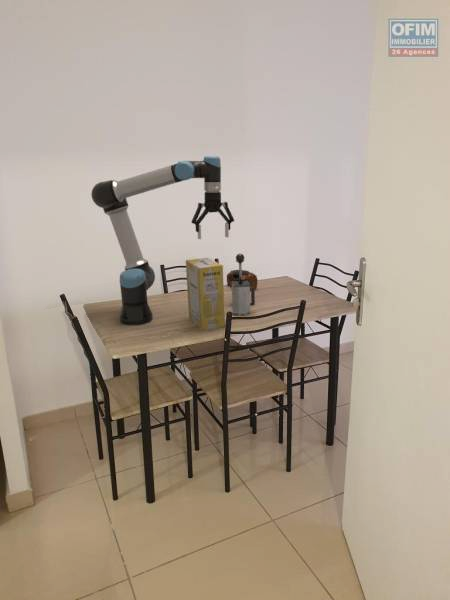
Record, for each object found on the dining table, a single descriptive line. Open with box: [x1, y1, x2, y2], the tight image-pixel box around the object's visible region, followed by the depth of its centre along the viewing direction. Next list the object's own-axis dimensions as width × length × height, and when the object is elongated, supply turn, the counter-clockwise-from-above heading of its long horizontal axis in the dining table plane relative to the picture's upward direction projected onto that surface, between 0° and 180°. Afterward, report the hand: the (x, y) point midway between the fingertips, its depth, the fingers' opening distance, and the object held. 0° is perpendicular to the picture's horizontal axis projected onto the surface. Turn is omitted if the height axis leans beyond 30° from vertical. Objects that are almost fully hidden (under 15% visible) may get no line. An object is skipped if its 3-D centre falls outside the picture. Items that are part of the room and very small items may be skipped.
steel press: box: [231, 280, 256, 317], centre depth 223 cm, size 11×8×15 cm
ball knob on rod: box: [235, 253, 245, 284], centre depth 218 cm, size 4×4×15 cm
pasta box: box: [185, 257, 226, 332], centre depth 209 cm, size 18×10×28 cm, turn 23°
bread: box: [226, 269, 258, 292], centre depth 267 cm, size 19×11×10 cm, turn 28°
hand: (213, 238), depth 218 cm, fingers open, 13 cm apart
